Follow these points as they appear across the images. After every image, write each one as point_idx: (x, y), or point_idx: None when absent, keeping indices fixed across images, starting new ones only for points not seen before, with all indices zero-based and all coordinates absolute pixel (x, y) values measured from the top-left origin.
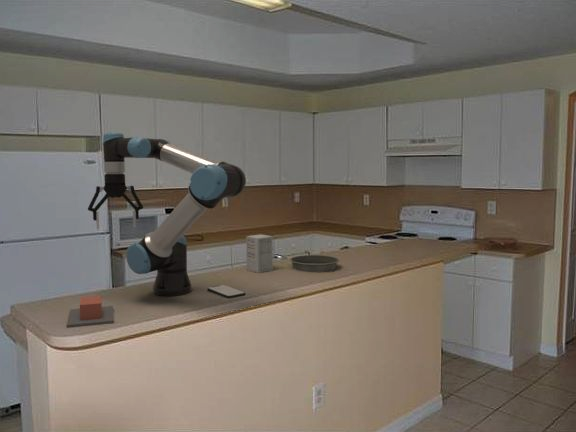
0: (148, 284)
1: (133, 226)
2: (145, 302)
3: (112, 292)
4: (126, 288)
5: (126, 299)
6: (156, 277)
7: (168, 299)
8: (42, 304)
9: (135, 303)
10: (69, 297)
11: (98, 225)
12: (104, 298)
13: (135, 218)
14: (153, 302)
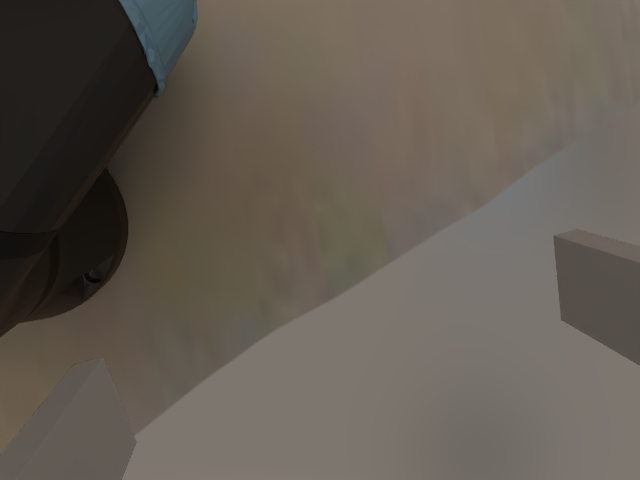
0: (177, 368)
1: (127, 429)
2: None
3: (318, 240)
4: (267, 304)
5: (235, 102)
6: (75, 212)
7: None
8: (566, 81)
9: None
10: (481, 179)
11: (599, 245)
12: (337, 138)
13: (2, 460)
14: None
